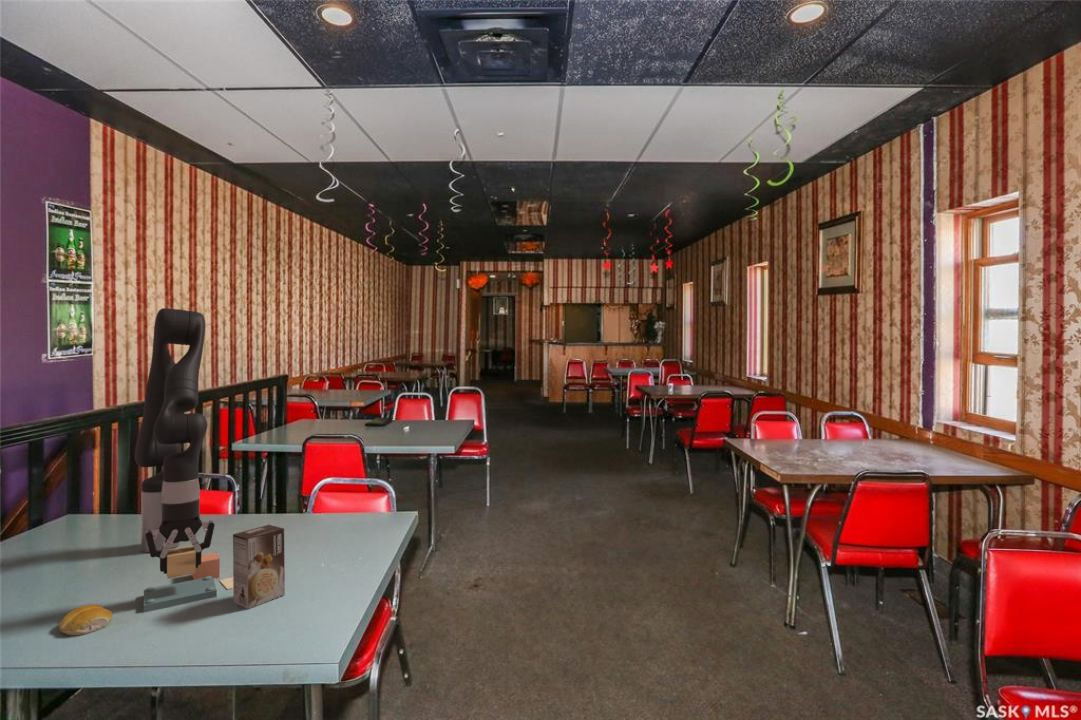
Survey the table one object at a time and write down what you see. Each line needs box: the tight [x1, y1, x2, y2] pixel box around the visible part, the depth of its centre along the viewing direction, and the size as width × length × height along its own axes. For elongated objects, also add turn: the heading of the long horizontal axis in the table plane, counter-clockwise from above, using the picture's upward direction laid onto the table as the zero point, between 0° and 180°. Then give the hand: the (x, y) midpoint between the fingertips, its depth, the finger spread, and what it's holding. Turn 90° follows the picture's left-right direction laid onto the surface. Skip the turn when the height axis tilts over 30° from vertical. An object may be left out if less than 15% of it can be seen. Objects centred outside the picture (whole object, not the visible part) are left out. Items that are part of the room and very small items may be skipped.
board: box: [143, 576, 218, 613], centre depth 131 cm, size 10×14×2 cm
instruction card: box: [219, 576, 233, 591], centre depth 141 cm, size 7×10×1 cm
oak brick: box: [166, 545, 196, 580], centre depth 131 cm, size 6×6×5 cm
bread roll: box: [58, 604, 113, 637], centre depth 116 cm, size 8×9×4 cm
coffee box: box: [232, 524, 286, 610], centre depth 130 cm, size 9×6×16 cm
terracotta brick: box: [192, 552, 221, 580], centre depth 142 cm, size 6×6×5 cm
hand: (180, 569), depth 131 cm, fingers closed on oak brick, 5 cm apart
